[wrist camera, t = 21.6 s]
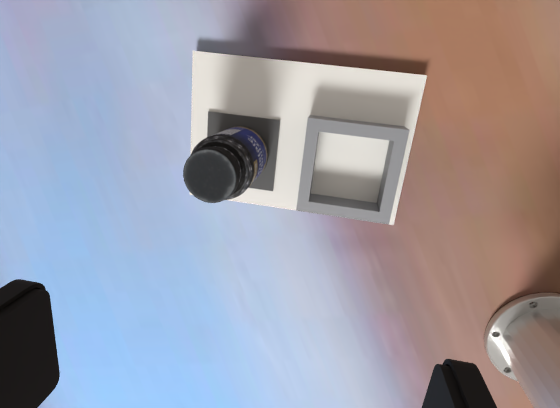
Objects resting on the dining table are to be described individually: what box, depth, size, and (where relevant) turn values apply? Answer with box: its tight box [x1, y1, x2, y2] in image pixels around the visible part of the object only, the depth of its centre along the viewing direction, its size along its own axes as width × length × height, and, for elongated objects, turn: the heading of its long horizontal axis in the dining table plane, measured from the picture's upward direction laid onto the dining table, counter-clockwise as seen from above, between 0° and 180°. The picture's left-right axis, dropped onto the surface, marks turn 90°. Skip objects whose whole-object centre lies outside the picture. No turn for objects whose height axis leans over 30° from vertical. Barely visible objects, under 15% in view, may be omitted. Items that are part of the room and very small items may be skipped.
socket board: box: [190, 51, 427, 225], centre depth 39 cm, size 24×16×4 cm, turn 84°
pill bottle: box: [183, 126, 268, 203], centre depth 36 cm, size 6×6×11 cm
